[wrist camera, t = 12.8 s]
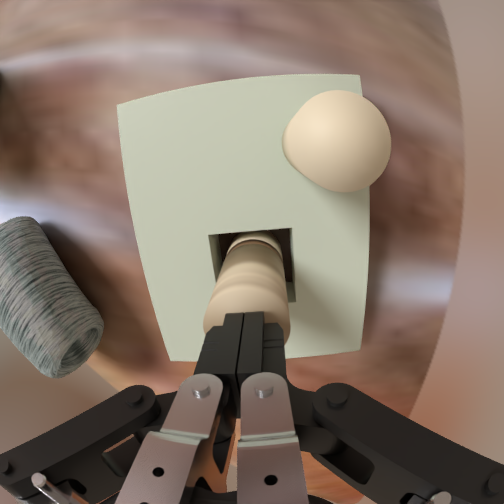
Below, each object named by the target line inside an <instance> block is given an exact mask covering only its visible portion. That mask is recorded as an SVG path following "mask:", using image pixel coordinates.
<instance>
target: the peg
mask: <svg viewBox="0 0 504 504" xmlns="http://www.w3.org/2000/svg"><path fill="white" fill-rule="evenodd" d="M256 311H264V318H265V323H278V324H279V325H280V326H281V327H282V329H283V332H284V345H285V344H286V342H287V341H288V338H289V336H290V330H291V325H290V316H289V308H288V299H287V291H286V283H285V275H284V267H283V259H282V251H281V246H280V243H279V241H278V239H277V238H276V237H275V236H274V235H273V234H272V233H271V232H269V231H267V230H257V231H245V232H239V233H238V234H237V235H236V236H235V237H234V238H233V240H232V242H231V244H230V247H229V249H228V252H227V255H226V258H225V260H224V263H223V266H222V268H221V271H220V274H219V276H218V279H217V282H216V285H215V287H214V290H213V293H212V296H211V298H210V301H209V304H208V307H207V309H206V312H205V315H204V319H203V329H204V333H205V336H206V333H207V332H208V331H209V330H210V329H211V328H212V327H213V326H223V322H224V318H225V314H226V313H240V312H244V313H245V312H256Z"/></svg>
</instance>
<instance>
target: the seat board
mask: <svg viewBox="0 0 504 504" xmlns="http://www.w3.org/2000/svg"><path fill="white" fill-rule="evenodd" d="M117 113H118V124H119V134H120V143H121V151H122V159H123V166H124V173H125V180H126V186H127V192H128V198H129V204H130V209H131V215H132V220H133V225H134V230H135V235H136V239H137V244H138V248H139V253H140V257H141V261H142V265H143V269H144V273H145V277H146V281H147V285H148V289H149V293H150V296H151V300H152V303H153V307H154V310H155V314H156V317H157V321H158V324H159V327H160V330H161V334H162V337H163V340H164V343H165V346H166V349H167V352H168V355H169V358H170V361H198V358H199V355H200V352H201V348H202V345H203V344H204V343H203V342H204V339H205V333H204V329H203V319H204V315H205V312H206V309H207V307H208V304H209V301H210V298H211V296H212V293H213V290H214V287H215V285H216V282H217V279H218V276H219V274H220V271H221V268H222V266H223V263H222V256H221V249H220V242H219V235H218V234H223V233H234V232H245V231H257V230H269V229H281V228H289V231H290V247H291V264H292V281H291V282H285V283H286V291H287V299H288V308H289V316H290V325H291V330H290V336H289V338H288V341H287V342H286V344H285V345H284V346H285V358H298V357H308V356H318V355H327V354H336V353H344V352H351V351H358V350H360V348H361V340H362V332H363V324H364V314H365V304H366V292H367V279H368V261H369V232H370V194H369V185H371V184H372V183H373V182H375V181H376V180H377V179H378V178H379V177H380V175H381V174H382V173H383V171H384V170H385V168H386V166H387V164H388V161H389V158H390V153H391V136H390V131H389V128H388V125H387V123H386V121H385V119H384V117H383V115H382V114H381V112H380V111H379V110H378V109H377V108H376V107H375V105H373V104H372V103H371V102H370V101H369V100H367V99H366V98H364V97H363V96H362V89H361V82H360V75H350V74H293V75H275V76H262V77H252V78H243V79H234V80H227V81H220V82H213V83H207V84H202V85H196V86H191V87H186V88H181V89H176V90H172V91H167V92H163V93H159V94H155V95H151V96H147V97H143V98H139V99H136V100H132V101H129V102H125V103H122V104H119V105H117Z"/></svg>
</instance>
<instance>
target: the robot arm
mask: <svg viewBox="0 0 504 504" xmlns="http://www.w3.org/2000/svg"><path fill="white" fill-rule="evenodd" d="M203 343H204V344H203V345H202V348H201V352H200V355H199V358H198V361H197V365H196V368H195V371H194V375H193V376H191V377H189V378H187V379H186V380H185V381H183V383H182V384H181V385H180V388H179V390H178V391H175V392H172V393H166V394H161V395H155V393H154V391H153V390H152V389H151V388H149V387H147V386H144V385H134V386H130V387H128V388H126V389H124V390H122V391H121V392H119V393H117V394H115V395H114V396H112V397H110V398H109V399H107V400H105V401H103V402H101V403H100V404H98V405H96V406H94V407H92V408H91V409H89V410H87V411H85V412H83V413H81V414H80V415H78V416H76V417H74V418H72V419H70V420H69V421H67V422H65V423H63V424H61V425H59V426H57V427H55V428H53V429H51V430H50V431H48V432H46V433H44V434H42V435H40V436H38V437H36V438H34V439H32V440H30V441H28V442H26V443H24V444H21V445H20V446H17V447H15V448H13V449H11V450H9V451H7V452H5V453H2V454H1V455H0V485H1V486H2V487H3V488H4V489H6V490H7V491H8V492H9V493H11V495H12V496H13V497H14V498H15V500H16V502H17V504H96V503H98V502H100V501H102V500H104V499H106V498H107V497H109V496H111V495H113V494H114V493H116V492H118V491H119V490H121V491H120V492H118V493H116V494H114V495H113V496H111V497H110V498H108V499H107V500H105V501H103V502H101V503H100V504H333V503H331V502H329V501H327V500H325V499H322V498H319V497H316V496H313V495H308V494H307V488H306V482H305V476H304V470H303V464H302V458H301V452H300V451H305V452H310V453H311V455H312V456H313V457H314V458H315V459H316V460H317V461H319V462H320V463H321V464H322V465H324V466H325V467H326V468H328V469H329V470H330V471H332V472H333V473H334V474H336V475H337V476H338V477H340V478H341V479H342V480H344V481H345V482H346V483H348V484H349V485H351V486H352V487H353V488H355V489H356V490H358V491H359V492H361V493H362V494H364V495H365V496H366V497H368V498H370V499H371V500H373V501H374V502H376V503H377V504H504V465H503V464H500V463H498V462H495V461H493V460H491V459H489V458H487V457H484V456H482V455H480V454H478V453H476V452H474V451H471V450H469V449H467V448H465V447H463V446H461V445H459V444H457V443H454V442H453V441H451V440H449V439H447V438H445V437H443V436H441V435H439V434H437V433H435V432H433V431H431V430H429V429H427V428H425V427H423V426H421V425H419V424H418V423H416V422H414V421H412V420H410V419H408V418H406V417H405V416H403V415H401V414H399V413H397V412H396V411H394V410H392V409H390V408H388V407H387V406H385V405H383V404H381V403H380V402H378V401H376V400H374V399H373V398H371V397H369V396H368V395H366V394H364V393H362V392H361V391H359V390H357V389H356V388H354V387H352V386H350V385H348V384H344V383H331V384H327V385H325V386H322V387H321V388H319V389H318V390H317V391H316V392H312V391H306V390H302V389H299V388H297V387H295V386H293V385H292V384H291V383H290V382H289V380H288V379H287V375H286V361H285V346H284V332H283V329H282V327H281V326H280V325H279V324H278V323H265V318H264V311H256V312H245V313H244V312H240V313H226V314H225V318H224V322H223V326H213V327H212V328H211V329H210V330H209V331H208V332H207V333H206V336H205V339H204V342H203ZM236 418H241V438H240V440H238V446H237V491H232V492H227V485H226V478H227V473H228V468H229V464H230V459H231V455H232V450H233V446H234V441H235V435H236V434H235V424H236ZM131 434H134V437H132V438H131V439H129V440H127V441H126V442H124V443H122V444H121V445H119V446H118V447H116V448H114V449H113V450H111V451H109V452H104V451H105V450H106V449H108V448H110V447H111V446H113V445H114V444H116V443H118V442H120V441H121V440H123V439H125V438H126V437H128V436H130V435H131Z"/></svg>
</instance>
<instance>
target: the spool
mask: <svg viewBox="0 0 504 504" xmlns="http://www.w3.org/2000/svg"><path fill="white" fill-rule="evenodd" d="M0 328H1V329H2V330H3V331H4V333H5V334H6V335H7V337H8V338H9V339H10V340H11V341H12V343H13V344H14V345H15V346H16V347H17V348H18V350H19V351H20V352H21V353H22V354H24V356H25V357H26V358H27V359H28V360H29V361H30V362H31V363H32V364H33V365H34V366H35V367H36V368H37V369H38V370H39V371H40V372H41V373H42V374H44V375H46V376H48V377H51V378H62V377H65V376H66V375H68V374H70V373H72V372H73V371H75V370H76V369H77V368H79V367H80V366H81V365H82V364H83V363H84V362H86V361H87V360H88V358H89V357H90V356H91V354H92V353H93V352H94V350H95V349H96V348H97V346H98V345H99V343H100V340H101V337H102V334H103V330H104V322H103V320H102V318H101V316H100V314H99V312H98V310H97V308H95V307H94V306H92V304H91V303H90V302H89V301H88V299H87V298H86V297H85V295H84V294H83V293H82V292H81V290H80V289H79V287H78V286H77V284H76V283H75V282H74V280H73V279H72V277H71V276H70V274H69V273H68V271H67V270H66V268H65V267H64V265H63V263H62V261H61V260H60V258H59V257H58V255H57V254H56V252H55V250H54V249H53V247H52V245H51V244H50V242H49V241H48V238H47V236H46V234H45V233H44V232H43V230H42V229H41V227H40V225H39V223H38V222H37V221H36V220H35V219H34V218H31V217H16V218H13V219H10V220H8V221H7V222H5V223H2V224H1V225H0Z"/></svg>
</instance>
